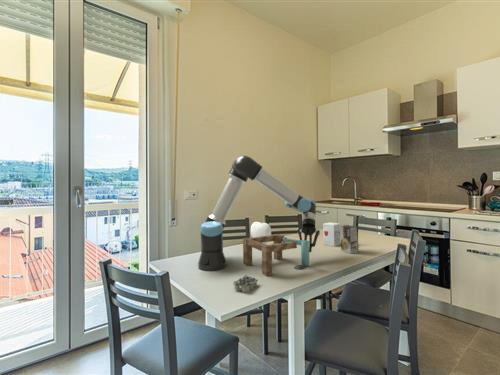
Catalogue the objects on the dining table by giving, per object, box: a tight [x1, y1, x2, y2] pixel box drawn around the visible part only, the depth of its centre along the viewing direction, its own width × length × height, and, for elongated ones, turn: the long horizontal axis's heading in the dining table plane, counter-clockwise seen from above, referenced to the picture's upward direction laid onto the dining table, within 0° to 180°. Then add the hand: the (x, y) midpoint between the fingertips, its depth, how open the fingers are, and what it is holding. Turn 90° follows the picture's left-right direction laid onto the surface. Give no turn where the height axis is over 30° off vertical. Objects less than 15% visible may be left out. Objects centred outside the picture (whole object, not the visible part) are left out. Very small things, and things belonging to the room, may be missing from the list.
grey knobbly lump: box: [232, 274, 259, 293], centre depth 118 cm, size 11×8×4 cm
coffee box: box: [340, 224, 359, 254], centre depth 174 cm, size 9×6×16 cm
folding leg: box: [282, 236, 310, 267], centre depth 150 cm, size 16×4×13 cm, turn 48°
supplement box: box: [322, 222, 342, 247], centre depth 194 cm, size 9×9×15 cm
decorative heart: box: [250, 221, 272, 245], centre depth 191 cm, size 18×11×17 cm, turn 38°
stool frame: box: [242, 233, 307, 277], centre depth 147 cm, size 25×25×14 cm
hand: (307, 256), depth 149 cm, fingers closed
